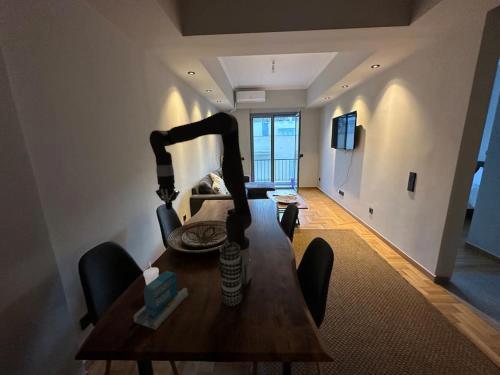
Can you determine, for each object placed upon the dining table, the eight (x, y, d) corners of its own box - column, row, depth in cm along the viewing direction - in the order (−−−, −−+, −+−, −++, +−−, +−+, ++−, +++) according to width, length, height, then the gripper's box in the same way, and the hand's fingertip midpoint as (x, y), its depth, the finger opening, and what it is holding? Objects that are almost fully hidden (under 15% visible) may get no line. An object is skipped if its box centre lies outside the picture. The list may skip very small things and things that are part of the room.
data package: (155, 319, 75) (151, 291, 72) (146, 316, 76) (142, 288, 74) (178, 297, 85) (176, 271, 83) (170, 294, 87) (167, 269, 85)
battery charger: (234, 217, 180) (234, 212, 179) (227, 214, 186) (227, 210, 185) (245, 213, 189) (244, 209, 188) (237, 211, 195) (237, 207, 194)
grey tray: (188, 295, 88) (187, 287, 87) (155, 331, 71) (154, 322, 70) (169, 290, 91) (168, 282, 90) (134, 323, 75) (132, 314, 74)
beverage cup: (162, 283, 95) (159, 256, 92) (159, 293, 89) (155, 264, 86) (148, 285, 94) (144, 258, 91) (144, 295, 88) (139, 266, 85)
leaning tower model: (246, 306, 82) (244, 248, 76) (223, 311, 79) (219, 252, 74) (240, 290, 90) (238, 237, 85) (219, 295, 88) (216, 241, 82)
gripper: (182, 173, 98) (185, 208, 102) (160, 172, 103) (164, 205, 107) (171, 176, 91) (175, 213, 95) (148, 175, 96) (152, 210, 100)
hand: (169, 209), depth 101 cm, fingers closed
